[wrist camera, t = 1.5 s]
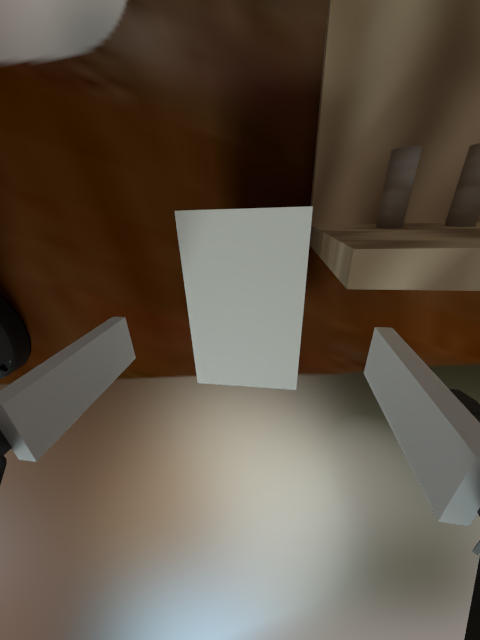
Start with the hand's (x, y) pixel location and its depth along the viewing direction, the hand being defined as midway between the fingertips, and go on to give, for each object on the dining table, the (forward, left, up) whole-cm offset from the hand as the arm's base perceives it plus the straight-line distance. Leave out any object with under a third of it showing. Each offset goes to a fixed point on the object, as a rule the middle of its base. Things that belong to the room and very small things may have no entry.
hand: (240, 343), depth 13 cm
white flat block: (0, 0, -7) cm, 7 cm away
